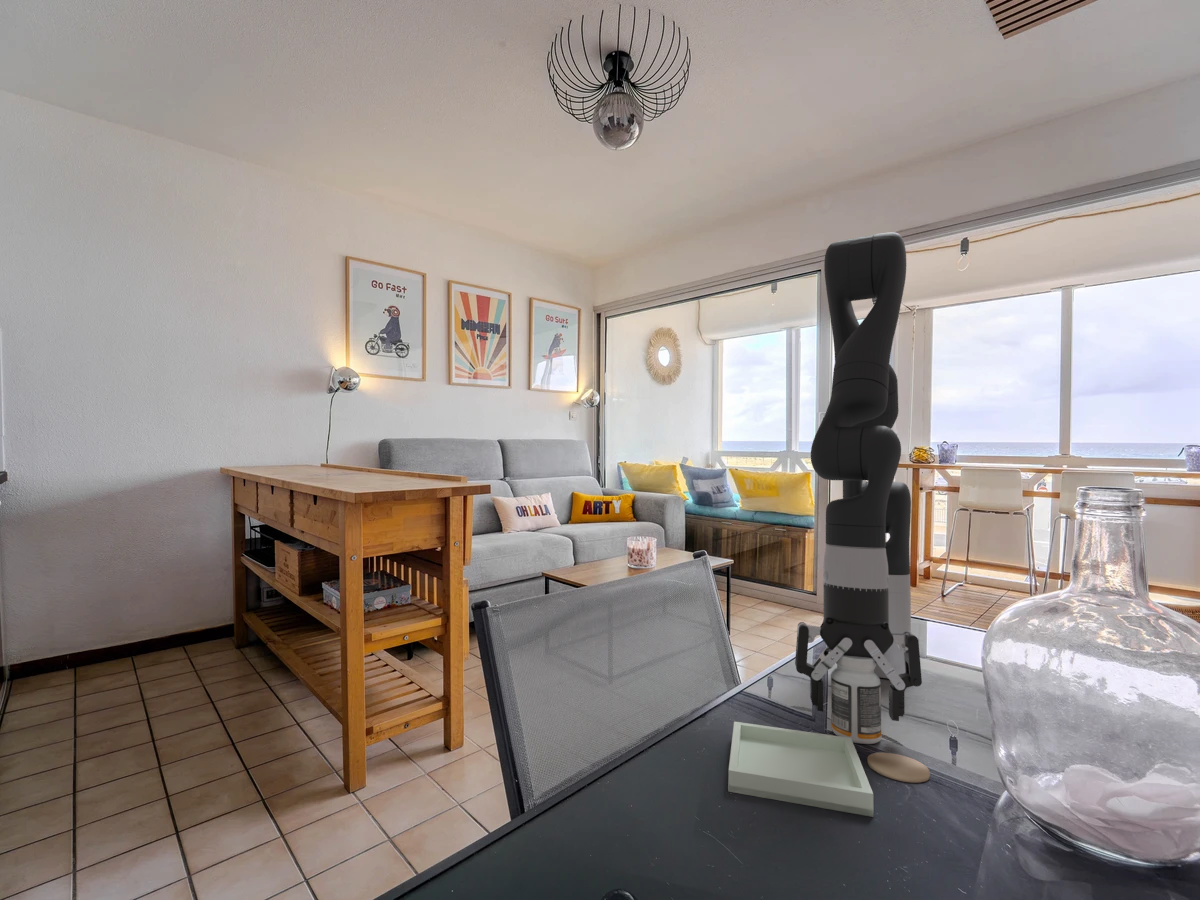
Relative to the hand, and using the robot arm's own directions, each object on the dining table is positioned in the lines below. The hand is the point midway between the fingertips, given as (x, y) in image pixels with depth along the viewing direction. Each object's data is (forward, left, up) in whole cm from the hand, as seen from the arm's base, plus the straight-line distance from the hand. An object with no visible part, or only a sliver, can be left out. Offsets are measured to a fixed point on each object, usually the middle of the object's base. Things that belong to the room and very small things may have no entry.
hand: (855, 713), depth 70 cm
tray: (+13, -8, -3) cm, 15 cm away
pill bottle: (0, 0, -3) cm, 3 cm away
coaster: (+8, +3, -3) cm, 9 cm away
